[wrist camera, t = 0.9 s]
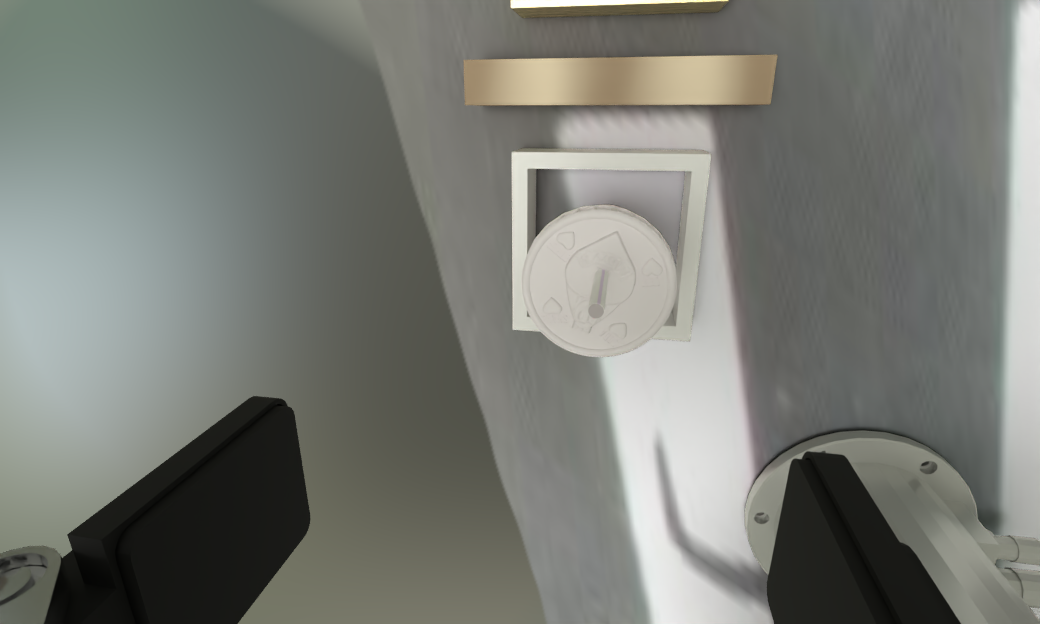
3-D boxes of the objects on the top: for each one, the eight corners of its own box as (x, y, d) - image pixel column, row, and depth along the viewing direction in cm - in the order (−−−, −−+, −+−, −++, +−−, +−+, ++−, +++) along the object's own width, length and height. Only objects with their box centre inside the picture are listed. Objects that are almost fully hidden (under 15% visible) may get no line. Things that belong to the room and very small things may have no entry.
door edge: (759, 61, 27) (777, 54, 24) (753, 104, 28) (770, 104, 25) (481, 65, 29) (463, 59, 26) (482, 105, 30) (465, 105, 27)
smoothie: (682, 200, 30) (723, 269, 17) (639, 305, 32) (647, 435, 19) (569, 164, 30) (526, 204, 17) (535, 270, 33) (476, 375, 20)
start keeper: (703, 150, 29) (711, 154, 26) (684, 321, 32) (690, 341, 29) (522, 148, 31) (511, 151, 28) (522, 311, 34) (512, 329, 31)
